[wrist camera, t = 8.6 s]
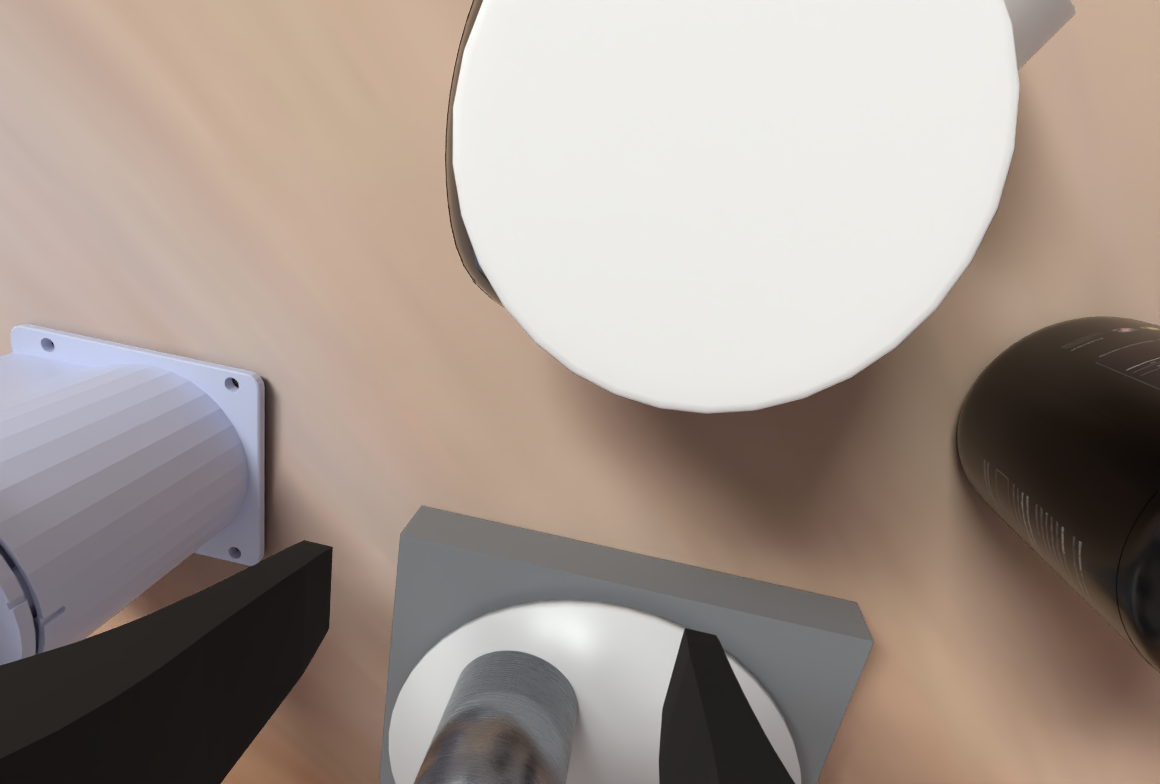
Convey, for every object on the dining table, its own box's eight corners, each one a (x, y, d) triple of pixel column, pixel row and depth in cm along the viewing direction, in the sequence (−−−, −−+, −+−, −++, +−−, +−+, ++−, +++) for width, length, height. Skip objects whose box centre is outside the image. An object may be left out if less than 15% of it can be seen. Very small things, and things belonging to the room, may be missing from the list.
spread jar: (506, 263, 20) (318, 367, 10) (564, -170, 17) (363, -831, 6) (885, 339, 20) (1156, 546, 9) (1038, -97, 16) (1865, -704, 5)
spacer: (455, 739, 23) (385, 921, 18) (455, 641, 22) (380, 804, 16) (574, 759, 23) (541, 952, 17) (582, 660, 22) (550, 836, 16)
